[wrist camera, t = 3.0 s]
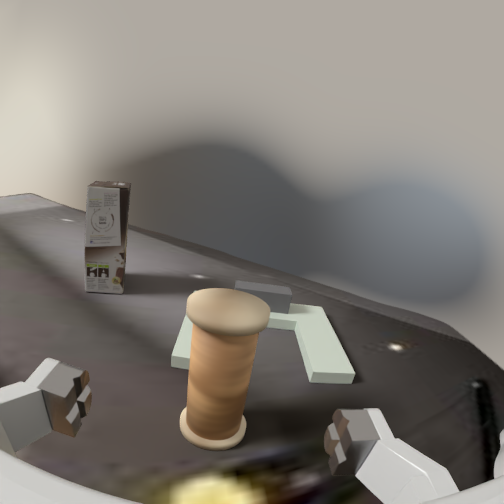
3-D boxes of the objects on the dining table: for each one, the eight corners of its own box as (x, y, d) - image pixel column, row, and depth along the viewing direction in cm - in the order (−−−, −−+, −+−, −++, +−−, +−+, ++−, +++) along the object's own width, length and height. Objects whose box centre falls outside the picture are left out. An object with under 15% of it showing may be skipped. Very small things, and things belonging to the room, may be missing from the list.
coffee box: (124, 294, 46) (130, 187, 42) (84, 292, 44) (86, 184, 40) (126, 273, 55) (132, 181, 50) (91, 271, 52) (95, 179, 48)
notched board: (319, 315, 51) (325, 289, 50) (351, 383, 33) (363, 351, 32) (193, 299, 49) (196, 272, 48) (171, 366, 32) (172, 330, 31)
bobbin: (244, 409, 28) (267, 293, 24) (245, 453, 22) (273, 329, 19) (184, 402, 27) (193, 283, 24) (175, 445, 22) (180, 317, 19)
